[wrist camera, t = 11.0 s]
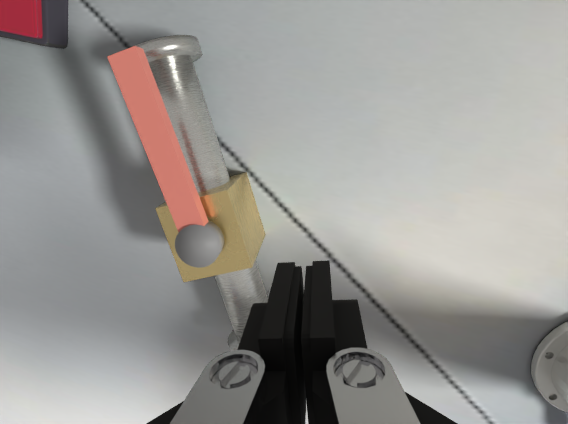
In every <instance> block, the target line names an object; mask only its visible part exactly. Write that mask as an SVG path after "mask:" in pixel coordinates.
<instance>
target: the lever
mask: <svg viewBox="0 0 568 424" xmlns="http://www.w3.org/2000/svg"><path fill="white" fill-rule="evenodd" d="M107 58H108V60H109V62H110V65H111V67H112V70H113V72H114V75H115V77H116V80H117V82H118V85H119V87H120V90H121V92H122V95H123V97H124V99H125V102H126V104H127V107H128V109H129V112H130V114H131V117H132V119H133V122H134V124H135V127H136V129H137V132H138V134H139V136H140V139H141V141H142V144H143V146H144V149H145V151H146V154H147V156H148V159H149V161H150V164H151V166H152V169H153V171H154V173H155V176H156V178H157V181H158V183H159V186H160V188H161V191H162V193H163V196H164V198H165V201H166V203H167V205H168V208H169V210H170V213H171V215H172V218H173V220H174V223H175V225H176V228H177V230H178V235H177V236H176V239H175V249H176V252H177V254H178V256H179V258H180V259H181V260H182V261H183V262H184V263H186V264H188V265H190V266H192V267H197V268H202V267H206V266H209V265H211V264H212V263H213V262H214V261H215V260H216V259H217V257H218V256H219V254H220V253H221V251H222V249H223V247H224V236H223V233H222V231H221V229H220V228H219V227H218V226H217V225H216V224H215V223H213V222H211V221H209V220H208V219H207V216H206V213H205V211H204V208H203V205H202V203H201V200H200V197H199V195H198V192H197V190H196V187H195V184H194V182H193V179H192V176H191V174H190V171H189V168H188V166H187V163H186V161H185V158H184V155H183V153H182V150H181V147H180V145H179V142H178V139H177V137H176V134H175V132H174V129H173V126H172V124H171V121H170V118H169V116H168V113H167V110H166V108H165V105H164V103H163V100H162V97H161V95H160V92H159V89H158V87H157V84H156V81H155V79H154V76H153V73H152V71H151V68H150V66H149V63H148V60H147V58H146V55H145V52H144V50H143V48H140V47H137V46H133V47H131V48H128V49H125V50H123V51H120V52H118V53H115V54H112V55H110V56H107Z"/></svg>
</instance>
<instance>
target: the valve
mask: <svg viewBox="0 0 568 424" xmlns="http://www.w3.org/2000/svg"><path fill="white" fill-rule="evenodd" d="M136 46H137V47H140V48H143V50H144V52H145V55H146V58H147V60H148V63H149V66H150V68H151V71H152V73H153V76H154V79H155V81H156V84H157V87H158V89H159V92H160V95H161V97H162V100H163V103H164V105H165V108H166V110H167V113H168V116H169V118H170V121H171V124H172V126H173V129H174V132H175V134H176V137H177V139H178V142H179V145H180V147H181V150H182V153H183V155H184V158H185V161H186V163H187V166H188V168H189V171H190V174H191V176H192V179H193V182H194V184H195V187H196V190H197V192H198V195H199V197H200V200H201V203H202V205H203V208H204V211H205V213H206V216H207V219H208V220H209V221H211V222H213V223H215V224H216V225H217V226H218V227H219V228H220V229H221V231H222V233H223V236H224V247H223V249H222V251H221V253H220V254H219V256H218V257H217V259H216V260H215V261H214V262H213V263H212V264H211V265H209V266H206V267H202V268H197V267H192V266H190V265H188V264H186V263H184V262H183V261H182V260H181V259H180V258H179V256H178V254H177V252H176V249H175V239H176V236H177V235H178V230H177V228H176V225H175V223H174V220H173V218H172V215H171V213H170V210H169V208H168V205H167V203H166V202H165V203H163V204H162V205H160V206H158V207H157V208H155V209H156V211H157V214H158V217H159V219H160V222H161V225H162V227H163V230H164V232H165V235H166V238H167V240H168V243H169V245H170V248H171V251H172V253H173V256H174V259H175V261H176V264H177V266H178V269H179V272H180V274H181V277H182V279H183V282H187V281H192V280H197V279H201V278H206V277H211V276H215V279H216V282H217V285H218V288H219V290H220V293H221V296H222V299H223V302H224V304H225V307H226V310H227V313H228V316H229V318H230V321H231V324H232V327H233V331H232V332H231V334H230V335H229V338H228V345H229V348H230V351H234V350H237V349H238V346H239V343H240V340H241V337H242V334H243V331H244V328H245V325H246V322H247V319H248V316H249V313H250V310H251V307H252V305H253V303H267V302H268V297H267V294H266V291H265V287H264V284H263V281H262V278H261V275H260V272H259V268H258V265H257V262H256V257H257V254H258V252H259V249H260V247H261V245H262V242H263V240H264V237H265V232H264V229H263V225H262V222H261V219H260V216H259V212H258V209H257V206H256V202H255V199H254V196H253V192H252V189H251V186H250V183H249V179H248V176H247V173H242V174H238V175H234V176H230V177H229V174H228V171H227V168H226V165H225V162H224V158H223V155H222V152H221V149H220V146H219V143H218V139H217V136H216V133H215V130H214V127H213V124H212V121H211V117H210V114H209V111H208V108H207V105H206V102H205V99H204V95H203V92H202V89H201V86H200V83H199V80H198V77H197V73H196V70H195V67H194V64H193V62H194V61H196V60H198V59H199V58H200V57H201V56H202V51H201V48H200V45H199V41H198V39H197V38H196V37H194V36H190V35H174V36H167V37H161V38H157V39H153V40H149V41H146V42H143V43H140V44H138V45H136Z"/></svg>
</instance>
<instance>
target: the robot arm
mask: <svg viewBox="0 0 568 424" xmlns="http://www.w3.org/2000/svg"><path fill="white" fill-rule="evenodd" d="M531 375H532V379H533V382H534V384H535V386H536V388H537V390H538V391H539V392H540V393H541V395H542V396H543V397H544V399H546V400H547V401H548V402H549V403H550V404H551V405H553V406H554V407H556V408H558V409H559V410H562V411H564V412H567V413H568V321H567V322H565V323H563V324H562V325H560V326H559V327H557V328H555V329H554V330H553V331H552V332H550V333H549V334H548V335H547V336H546V337H545V338H544V339H543V340H542V342H541V343H540V344H539V345H538V347H537V349H536V351H535V353H534V355H533V359H532V363H531ZM306 400H307V411H308V422H309V424H457V423H455V422H454V421H452V420H450V419H449V418H447V417H446V416H444V415H442V414H441V413H439V412H437V411H436V410H434V409H432V408H431V407H429V406H427V405H426V404H424V403H422V402H421V401H419V400H417V399H416V398H414V397H413V396H411V395H409V394H408V393H406V392H404V390H403V388H402V386H401V384H400V382H399V380H398V378H397V376H396V374H395V372H394V370H393V368H392V366H391V364H390V363H389V362H388V360H387V359H386V358H385V357H384V356H382V355H381V354H379V353H378V352H375V351H373V350H370V349H367V345H366V340H365V335H364V330H363V325H362V320H361V315H360V311H359V306H358V301H357V300H332V291H331V277H330V263H329V261H313V265H312V266H306V276H305V290H304V289H303V278H302V268H301V266H297V267H295V262H289V263H278V264H277V268H276V271H275V275H274V279H273V283H272V287H271V291H270V295H269V298H268V302H267V303H253V305H252V307H251V310H250V313H249V316H248V319H247V322H246V325H245V328H244V331H243V334H242V337H241V340H240V343H239V346H238V349H237V350H234V351H229V352H226V353H224V354H221V355H219V356H217V357H216V358H215V359H213V360H212V361H211V362H210V363H209V364H208V365H207V366H206V367H205V369H204V371H203V372H202V374H201V375H200V377H199V378H198V380H197V382H196V383H195V385H194V386H193V388H192V389H191V391H190V393H189V394H188V396H187V397H186V399H185V400H184V401H183V402H182V403H180V404H178V405H177V406H175V407H173V408H172V409H170V410H168V411H167V412H165V413H163V414H162V415H160V416H158V417H157V418H155V419H153V420H152V421H150V422H148V423H147V424H305V413H306Z"/></svg>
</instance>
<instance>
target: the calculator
mask: <svg viewBox="0 0 568 424" xmlns="http://www.w3.org/2000/svg"><path fill="white" fill-rule="evenodd" d="M0 36H1V37H5V38H10V39H15V40H19V41H24V42H29V43H33V44H38V45H43V46H49V47H56V48H63V49H64V48H66V47H67V44H68V0H0Z"/></svg>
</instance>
